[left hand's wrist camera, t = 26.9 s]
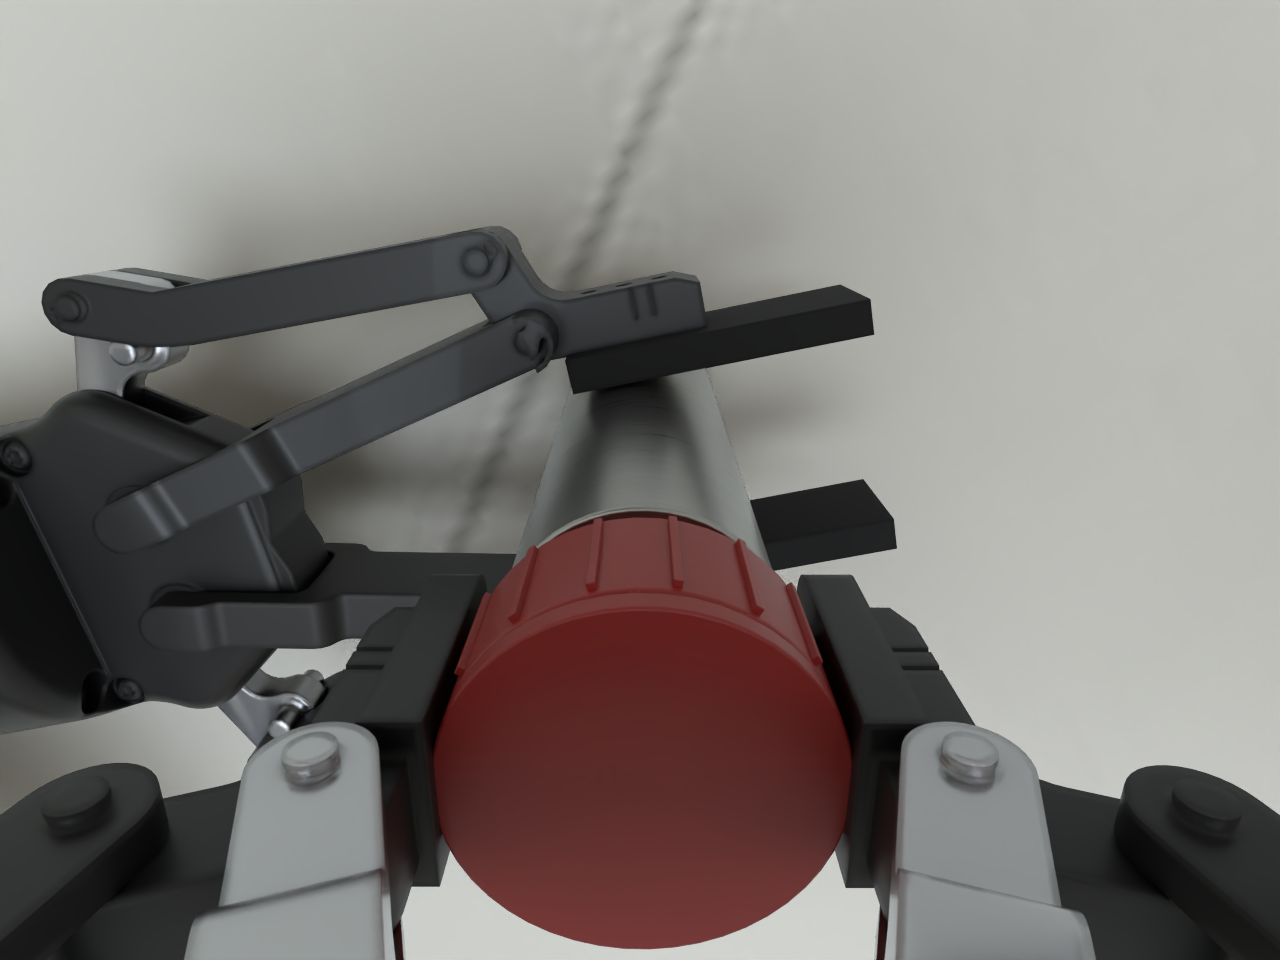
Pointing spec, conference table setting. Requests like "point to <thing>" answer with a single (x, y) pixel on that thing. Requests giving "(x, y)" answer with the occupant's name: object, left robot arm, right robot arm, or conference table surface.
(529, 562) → the lid
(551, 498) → the silver metal cylinder
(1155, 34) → the conference table surface
